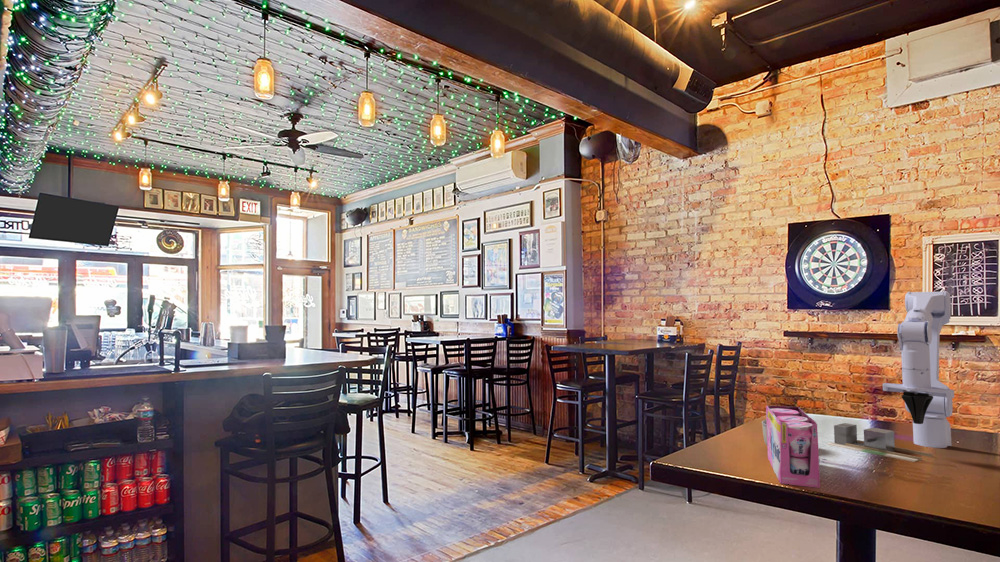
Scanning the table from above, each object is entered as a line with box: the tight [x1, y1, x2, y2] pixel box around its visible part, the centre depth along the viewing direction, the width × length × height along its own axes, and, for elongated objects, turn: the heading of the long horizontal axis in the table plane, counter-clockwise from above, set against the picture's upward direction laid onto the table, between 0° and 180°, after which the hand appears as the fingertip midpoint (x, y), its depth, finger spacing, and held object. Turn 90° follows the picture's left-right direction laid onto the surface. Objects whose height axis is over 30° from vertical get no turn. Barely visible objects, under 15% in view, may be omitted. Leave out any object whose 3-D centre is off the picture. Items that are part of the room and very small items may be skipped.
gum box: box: [765, 405, 821, 489], centre depth 126 cm, size 24×8×14 cm, turn 160°
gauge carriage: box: [863, 427, 896, 452], centre depth 140 cm, size 8×5×5 cm, turn 122°
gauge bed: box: [826, 422, 933, 463], centre depth 141 cm, size 12×22×6 cm, turn 32°
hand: (918, 423), depth 135 cm, fingers closed
